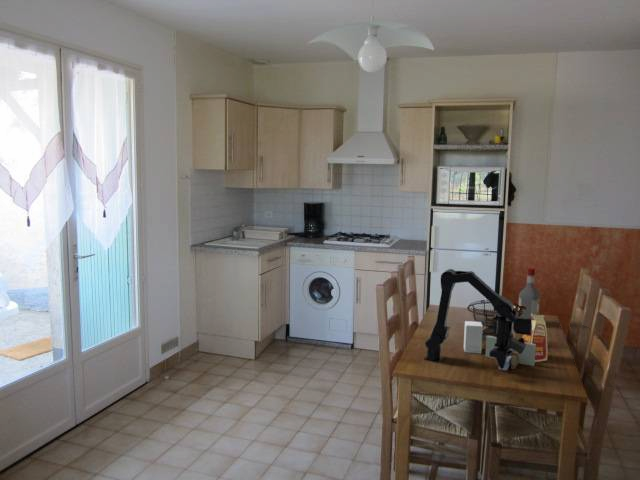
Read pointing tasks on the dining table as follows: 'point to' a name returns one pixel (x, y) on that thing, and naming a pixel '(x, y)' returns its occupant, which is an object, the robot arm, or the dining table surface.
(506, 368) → the blue-gray block
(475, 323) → the supplement box
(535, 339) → the milk carton
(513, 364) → the brown u-shaped bracket
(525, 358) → the backstop board
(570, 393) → the dining table surface
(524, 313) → the liquor
